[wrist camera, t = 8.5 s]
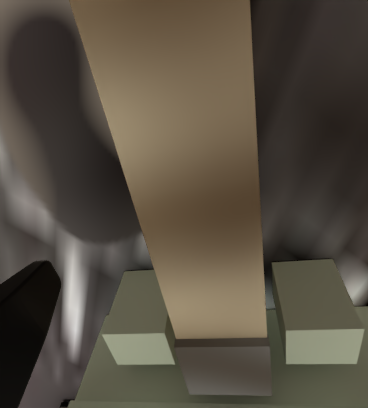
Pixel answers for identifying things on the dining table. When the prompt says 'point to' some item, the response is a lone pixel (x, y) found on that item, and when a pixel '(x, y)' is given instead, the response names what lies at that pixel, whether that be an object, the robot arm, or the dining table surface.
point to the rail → (191, 172)
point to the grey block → (278, 338)
